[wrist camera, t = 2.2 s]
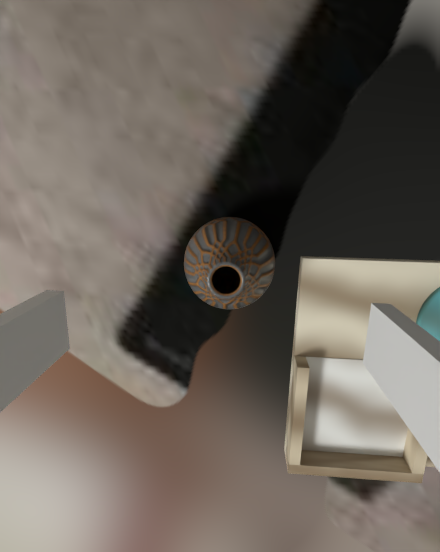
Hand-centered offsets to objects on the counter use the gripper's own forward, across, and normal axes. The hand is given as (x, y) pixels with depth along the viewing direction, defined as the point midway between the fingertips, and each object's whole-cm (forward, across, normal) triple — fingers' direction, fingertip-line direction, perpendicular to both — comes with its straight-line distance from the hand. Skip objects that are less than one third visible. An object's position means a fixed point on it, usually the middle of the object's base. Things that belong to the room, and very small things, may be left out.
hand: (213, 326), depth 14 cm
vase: (+16, 0, 0) cm, 16 cm away
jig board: (+15, +15, -10) cm, 24 cm away
